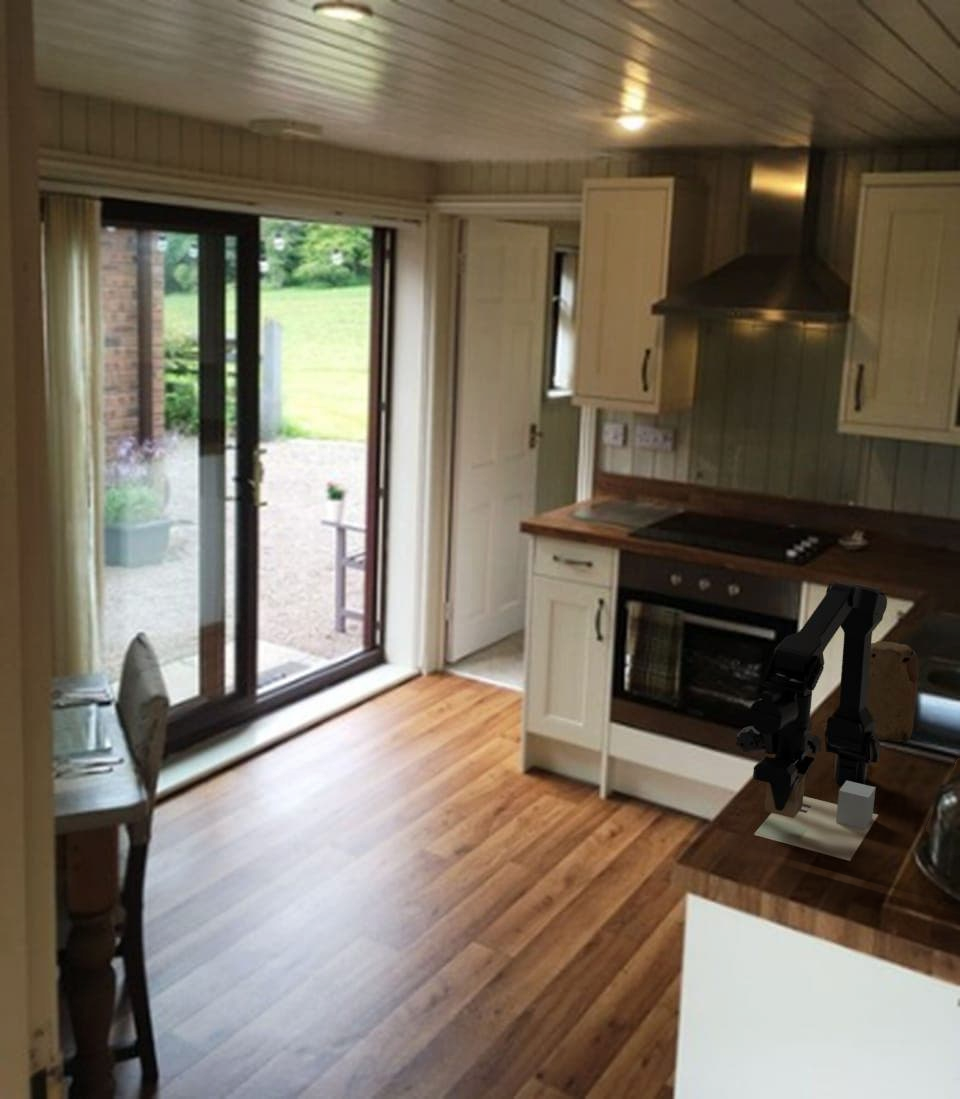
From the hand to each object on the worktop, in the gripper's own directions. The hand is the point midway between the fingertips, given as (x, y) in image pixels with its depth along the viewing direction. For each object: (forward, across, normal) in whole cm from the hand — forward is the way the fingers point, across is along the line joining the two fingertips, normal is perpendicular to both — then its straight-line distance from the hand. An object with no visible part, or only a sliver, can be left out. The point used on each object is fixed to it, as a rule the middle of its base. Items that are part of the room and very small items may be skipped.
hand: (783, 804), depth 193 cm
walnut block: (+1, 0, 0) cm, 1 cm away
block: (+6, -58, +4) cm, 58 cm away
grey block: (+5, -11, +10) cm, 15 cm away
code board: (+6, -6, +4) cm, 9 cm away
